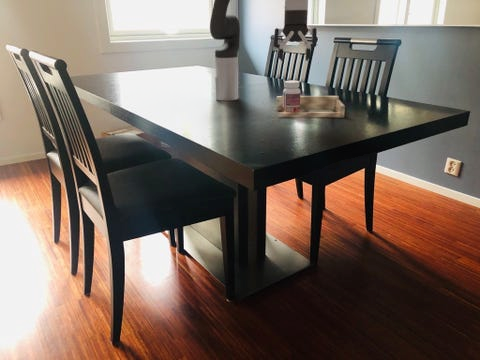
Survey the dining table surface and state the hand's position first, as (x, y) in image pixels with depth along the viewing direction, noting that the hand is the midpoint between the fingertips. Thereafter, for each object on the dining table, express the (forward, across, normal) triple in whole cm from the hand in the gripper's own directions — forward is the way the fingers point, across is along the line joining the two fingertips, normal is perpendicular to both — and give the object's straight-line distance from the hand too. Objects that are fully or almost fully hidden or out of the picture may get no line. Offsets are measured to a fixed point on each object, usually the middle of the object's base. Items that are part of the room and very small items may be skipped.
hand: (294, 60), depth 134 cm
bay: (+18, +6, 0) cm, 19 cm away
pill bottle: (+18, 0, 0) cm, 19 cm away
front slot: (+18, +10, 0) cm, 21 cm away
